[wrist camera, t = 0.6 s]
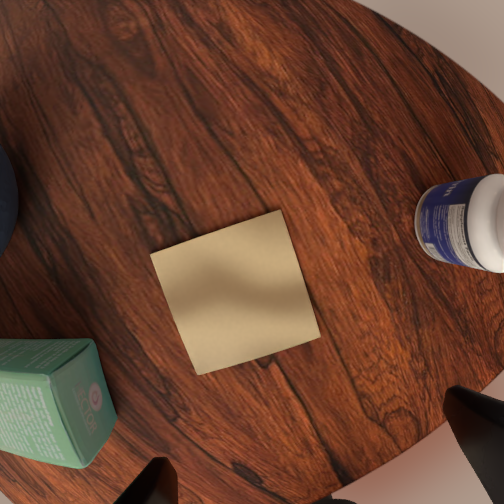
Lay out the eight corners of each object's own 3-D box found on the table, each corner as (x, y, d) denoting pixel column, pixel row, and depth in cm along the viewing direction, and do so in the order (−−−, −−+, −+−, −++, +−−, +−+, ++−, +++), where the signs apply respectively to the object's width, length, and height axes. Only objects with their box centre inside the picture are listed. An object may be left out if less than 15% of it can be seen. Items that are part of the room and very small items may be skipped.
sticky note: (320, 335, 22) (321, 336, 21) (198, 373, 22) (197, 375, 21) (280, 209, 21) (280, 209, 21) (151, 254, 21) (149, 254, 21)
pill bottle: (462, 180, 21) (555, 164, 11) (473, 252, 21) (565, 266, 11) (404, 190, 21) (497, 172, 11) (417, 268, 21) (509, 295, 11)
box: (123, 419, 22) (88, 475, 15) (10, 405, 22) (-33, 440, 15) (99, 335, 21) (47, 375, 14) (-13, 335, 21) (-66, 360, 14)
